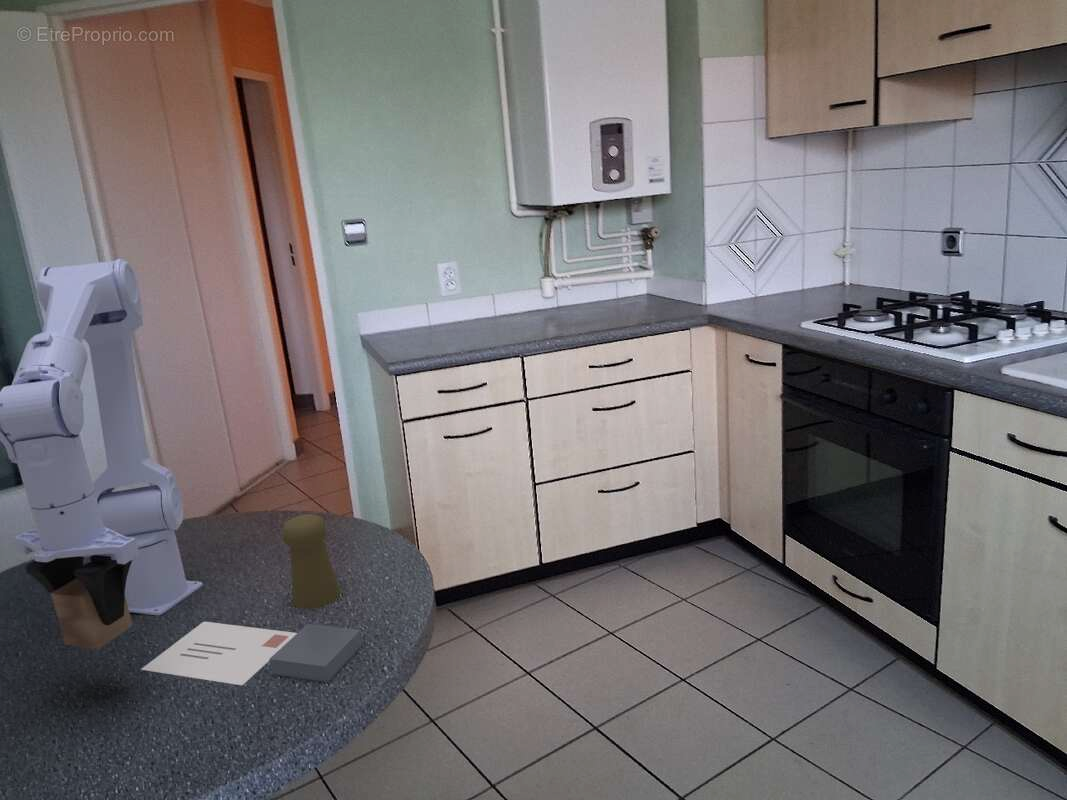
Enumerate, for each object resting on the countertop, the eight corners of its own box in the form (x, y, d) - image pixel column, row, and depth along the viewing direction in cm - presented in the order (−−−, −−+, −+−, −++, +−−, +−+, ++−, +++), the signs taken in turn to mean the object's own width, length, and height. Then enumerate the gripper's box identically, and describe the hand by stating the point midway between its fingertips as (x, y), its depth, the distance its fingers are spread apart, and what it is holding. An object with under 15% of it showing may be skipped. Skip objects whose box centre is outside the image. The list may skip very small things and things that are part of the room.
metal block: (273, 679, 86) (269, 658, 85) (311, 642, 92) (307, 623, 91) (329, 687, 83) (325, 666, 83) (363, 649, 90) (360, 629, 89)
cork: (328, 611, 98) (313, 529, 95) (283, 610, 99) (267, 529, 96) (348, 586, 103) (334, 508, 101) (306, 585, 105) (291, 508, 102)
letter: (141, 670, 89) (140, 669, 89) (204, 622, 98) (203, 621, 98) (242, 686, 84) (242, 685, 84) (299, 634, 93) (298, 633, 93)
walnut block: (65, 644, 83) (50, 593, 81) (101, 621, 87) (87, 571, 85) (98, 649, 81) (83, 597, 79) (132, 625, 85) (119, 575, 83)
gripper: (-27, 510, 79) (11, 631, 82) (82, 518, 74) (117, 646, 77) (37, 483, 85) (69, 596, 89) (141, 489, 80) (171, 608, 84)
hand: (95, 617), depth 83 cm, fingers closed on walnut block, 4 cm apart
